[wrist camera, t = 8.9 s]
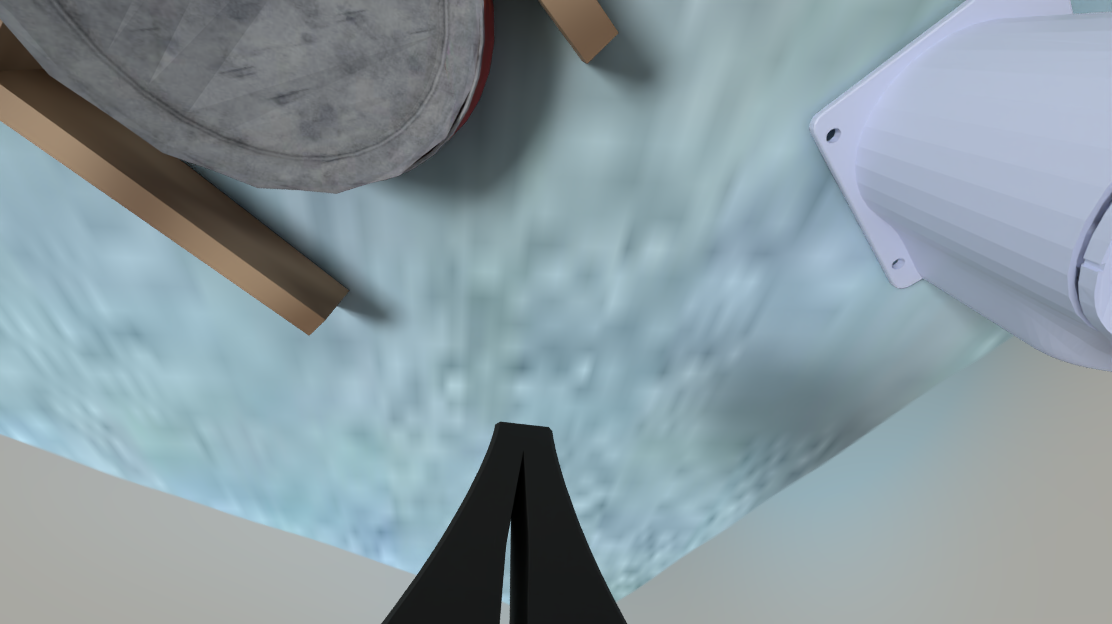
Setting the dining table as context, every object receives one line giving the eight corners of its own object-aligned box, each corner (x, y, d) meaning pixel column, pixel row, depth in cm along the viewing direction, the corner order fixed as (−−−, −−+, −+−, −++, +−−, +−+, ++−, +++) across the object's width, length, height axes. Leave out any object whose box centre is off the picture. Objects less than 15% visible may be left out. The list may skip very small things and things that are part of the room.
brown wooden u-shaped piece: (609, 34, 15) (618, 33, 13) (334, 305, 21) (309, 335, 18) (249, -492, 10) (164, -643, 8) (11, 64, 15) (-77, 67, 13)
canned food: (367, -148, 16) (341, -649, 7) (516, 110, 20) (630, 9, 10) (63, -6, 14) (-563, -453, 5) (293, 254, 17) (189, 287, 8)
